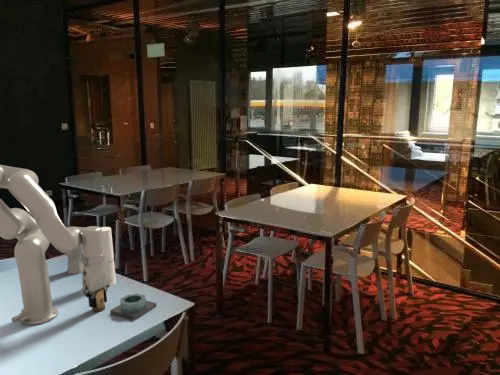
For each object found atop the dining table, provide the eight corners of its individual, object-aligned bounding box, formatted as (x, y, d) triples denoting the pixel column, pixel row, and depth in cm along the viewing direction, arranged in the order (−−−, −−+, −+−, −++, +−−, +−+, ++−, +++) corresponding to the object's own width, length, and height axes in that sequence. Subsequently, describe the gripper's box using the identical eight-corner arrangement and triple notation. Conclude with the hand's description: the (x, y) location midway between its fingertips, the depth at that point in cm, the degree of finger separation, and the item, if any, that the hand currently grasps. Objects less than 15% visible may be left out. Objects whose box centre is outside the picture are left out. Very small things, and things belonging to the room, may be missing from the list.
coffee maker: (62, 276, 199) (57, 239, 196) (62, 270, 207) (58, 234, 204) (95, 271, 205) (92, 234, 202) (94, 265, 213) (91, 230, 210)
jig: (135, 320, 155) (134, 308, 155) (110, 313, 161) (109, 302, 160) (156, 306, 166) (155, 295, 165) (132, 300, 171) (132, 290, 170)
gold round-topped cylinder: (98, 312, 162) (96, 293, 160) (89, 310, 164) (87, 291, 162) (107, 307, 166) (105, 288, 164) (98, 305, 168) (97, 286, 166)
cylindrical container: (110, 279, 195) (105, 226, 190) (119, 282, 190) (114, 228, 186) (95, 284, 189) (90, 229, 185) (104, 288, 185) (99, 232, 180)
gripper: (83, 268, 152) (87, 315, 155) (117, 253, 167) (121, 297, 170) (68, 265, 156) (73, 311, 159) (103, 251, 170) (107, 294, 174)
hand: (98, 303), depth 164 cm, fingers closed on gold round-topped cylinder, 4 cm apart
